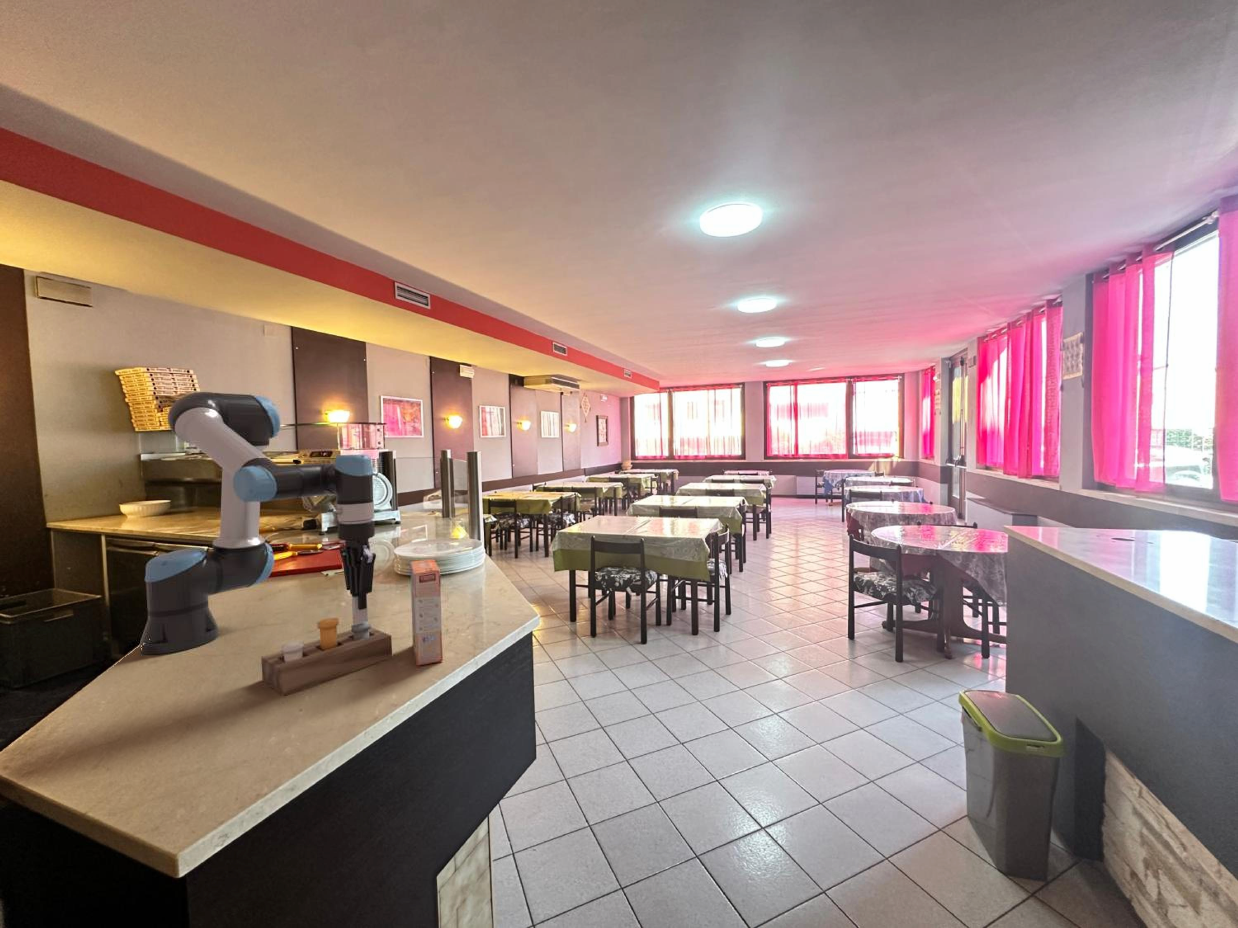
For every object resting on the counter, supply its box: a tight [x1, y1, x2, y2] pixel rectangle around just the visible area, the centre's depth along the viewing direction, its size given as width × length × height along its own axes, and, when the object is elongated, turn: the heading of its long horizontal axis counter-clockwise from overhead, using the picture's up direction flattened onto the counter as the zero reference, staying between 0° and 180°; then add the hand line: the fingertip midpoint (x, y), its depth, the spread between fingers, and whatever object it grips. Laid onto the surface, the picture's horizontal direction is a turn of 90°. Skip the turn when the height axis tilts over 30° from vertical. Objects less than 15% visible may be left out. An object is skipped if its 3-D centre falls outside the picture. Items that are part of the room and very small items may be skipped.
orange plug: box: [316, 617, 340, 651], centre depth 110 cm, size 4×4×7 cm
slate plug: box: [350, 621, 372, 641], centre depth 116 cm, size 4×4×7 cm
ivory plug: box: [281, 640, 305, 663], centre depth 105 cm, size 4×4×7 cm
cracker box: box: [409, 558, 444, 667], centre depth 117 cm, size 14×6×21 cm, turn 26°
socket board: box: [260, 626, 393, 697], centre depth 110 cm, size 12×22×5 cm, turn 142°
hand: (360, 622), depth 116 cm, fingers closed
